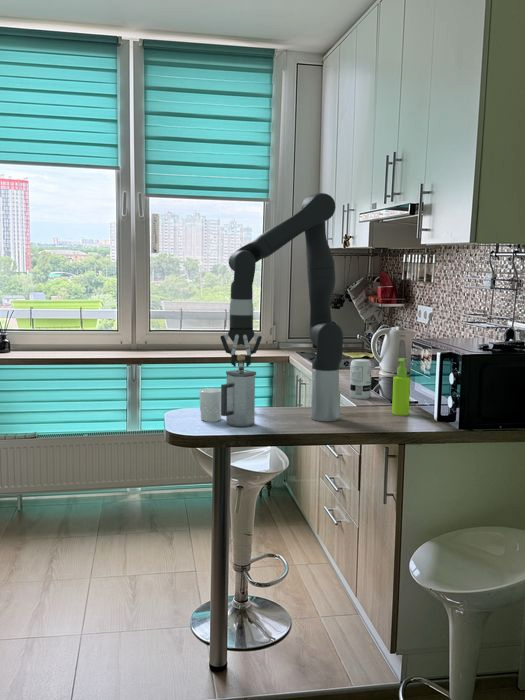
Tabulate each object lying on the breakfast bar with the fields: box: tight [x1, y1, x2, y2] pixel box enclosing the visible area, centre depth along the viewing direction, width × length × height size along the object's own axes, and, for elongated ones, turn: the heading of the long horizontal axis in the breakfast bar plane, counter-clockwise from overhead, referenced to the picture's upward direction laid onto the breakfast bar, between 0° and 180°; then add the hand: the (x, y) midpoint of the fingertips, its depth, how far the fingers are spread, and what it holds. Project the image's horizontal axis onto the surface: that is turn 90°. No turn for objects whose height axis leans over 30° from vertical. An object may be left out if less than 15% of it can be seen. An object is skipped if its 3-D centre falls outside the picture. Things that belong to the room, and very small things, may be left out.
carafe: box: [220, 369, 257, 429], centre depth 217 cm, size 14×9×18 cm
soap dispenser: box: [391, 357, 411, 417], centre depth 236 cm, size 6×7×20 cm
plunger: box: [235, 353, 247, 372], centre depth 217 cm, size 4×4×20 cm
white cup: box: [198, 387, 222, 422], centre depth 225 cm, size 8×8×10 cm
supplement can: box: [349, 358, 373, 400], centre depth 266 cm, size 8×8×15 cm
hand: (240, 366), depth 216 cm, fingers closed on plunger, 3 cm apart
